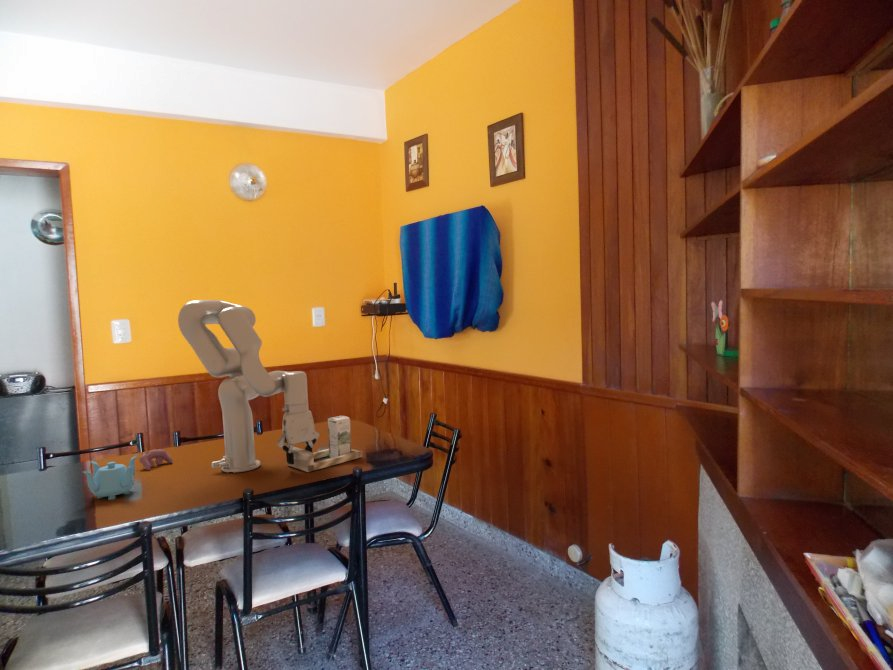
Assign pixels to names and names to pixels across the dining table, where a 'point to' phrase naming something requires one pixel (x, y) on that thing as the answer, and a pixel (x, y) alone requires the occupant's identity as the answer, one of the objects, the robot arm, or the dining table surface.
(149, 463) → the pink animal figurine
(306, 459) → the frame
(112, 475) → the teapot
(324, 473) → the dining table surface
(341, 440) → the syrup box
